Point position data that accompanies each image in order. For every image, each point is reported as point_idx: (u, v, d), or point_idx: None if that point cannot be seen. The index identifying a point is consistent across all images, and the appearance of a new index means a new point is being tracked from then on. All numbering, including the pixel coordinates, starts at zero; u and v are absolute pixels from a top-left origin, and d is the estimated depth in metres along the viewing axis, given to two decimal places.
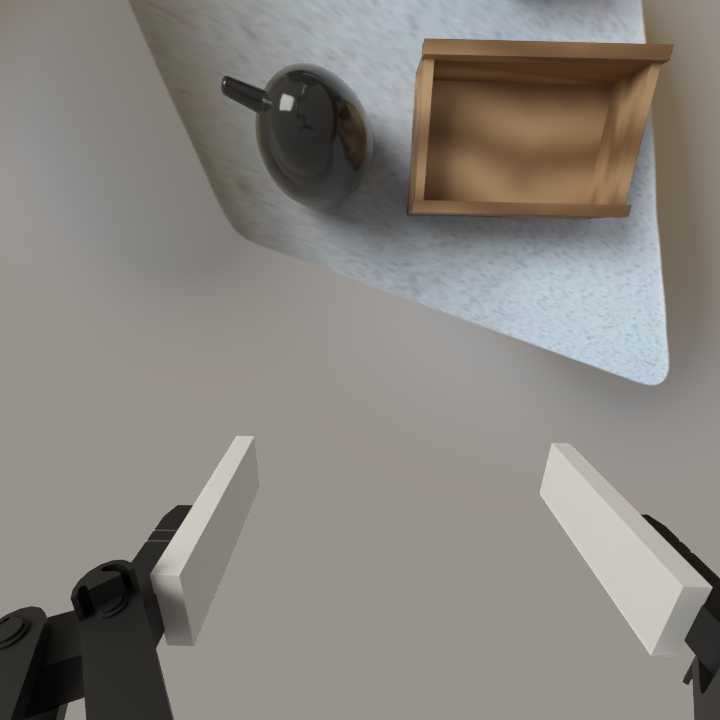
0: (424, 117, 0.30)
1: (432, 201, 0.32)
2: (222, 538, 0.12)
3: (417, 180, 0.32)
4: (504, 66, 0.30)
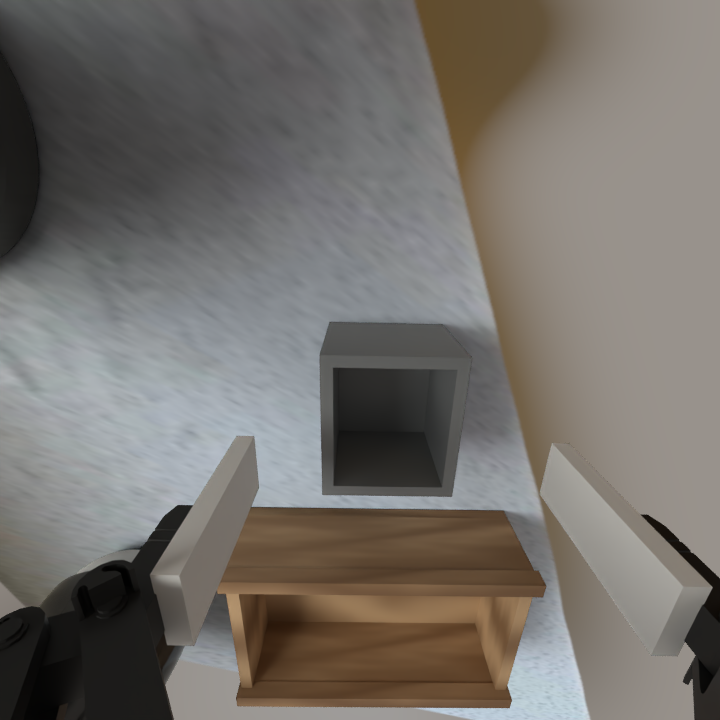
0: (237, 629, 0.23)
1: (260, 698, 0.25)
2: (222, 538, 0.12)
3: (240, 674, 0.25)
4: None
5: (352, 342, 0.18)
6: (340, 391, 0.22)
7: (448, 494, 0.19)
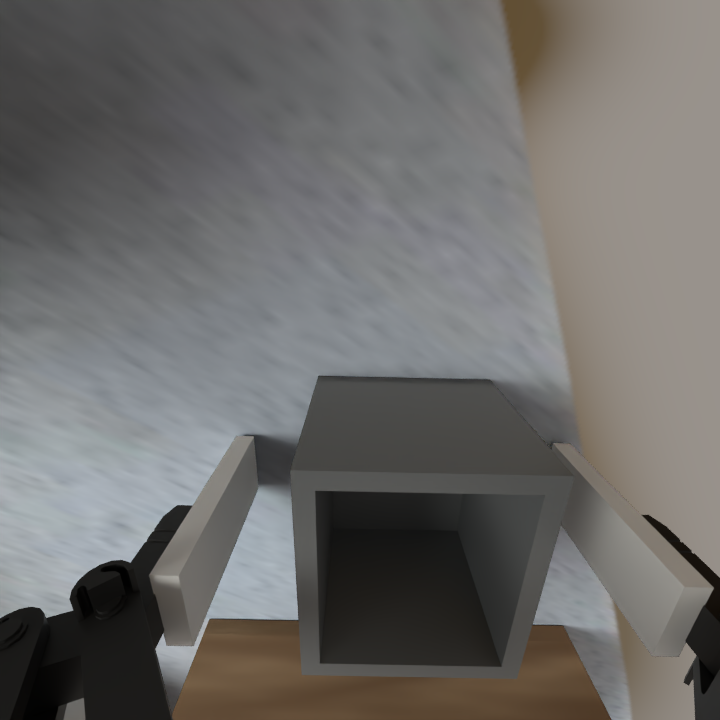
0: None
1: None
2: (222, 538, 0.12)
3: None
4: None
5: (352, 428, 0.10)
6: None
7: (511, 675, 0.11)
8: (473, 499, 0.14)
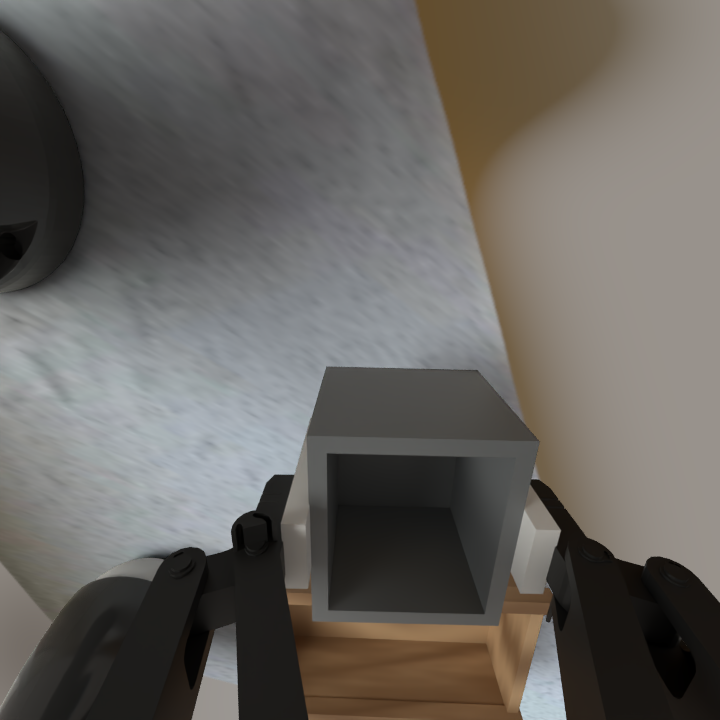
0: None
1: None
2: None
3: None
4: None
5: (356, 406, 0.12)
6: (340, 456, 0.17)
7: (493, 623, 0.13)
8: (463, 476, 0.16)
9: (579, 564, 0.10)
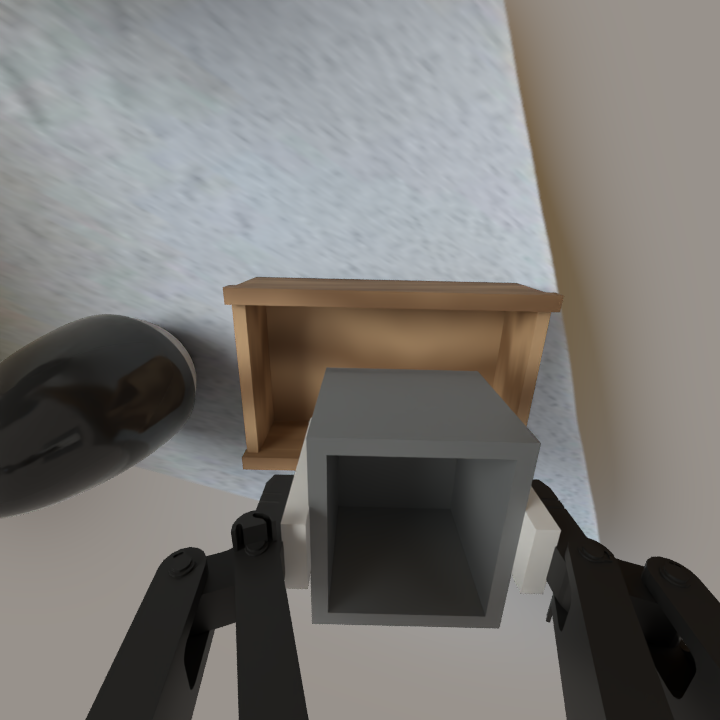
0: (243, 367, 0.23)
1: (266, 458, 0.24)
2: None
3: (246, 432, 0.24)
4: None
5: (356, 408, 0.12)
6: (340, 457, 0.17)
7: (494, 625, 0.13)
8: (463, 477, 0.16)
9: (579, 564, 0.10)
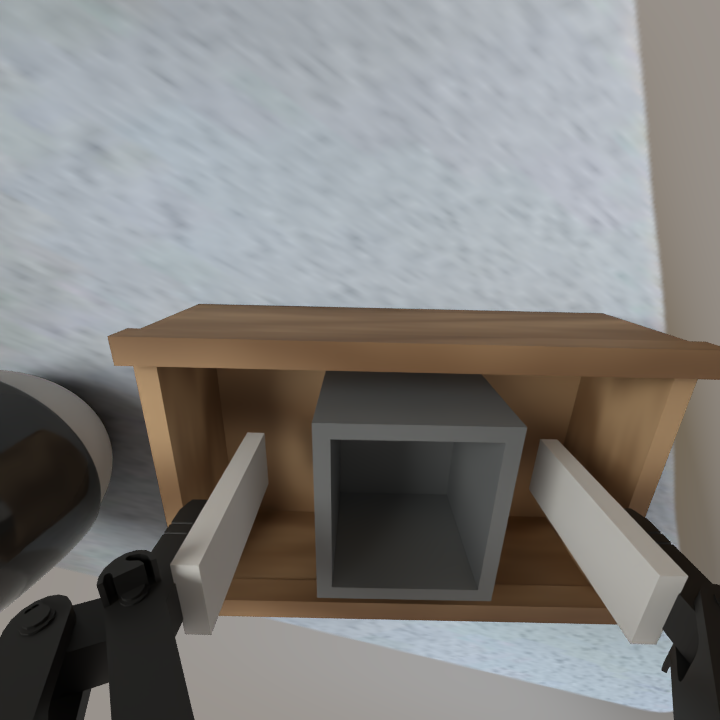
0: (163, 463, 0.13)
1: None
2: (236, 531, 0.12)
3: None
4: None
5: (357, 397, 0.13)
6: (342, 445, 0.18)
7: (486, 598, 0.14)
8: (458, 463, 0.17)
9: (713, 613, 0.08)
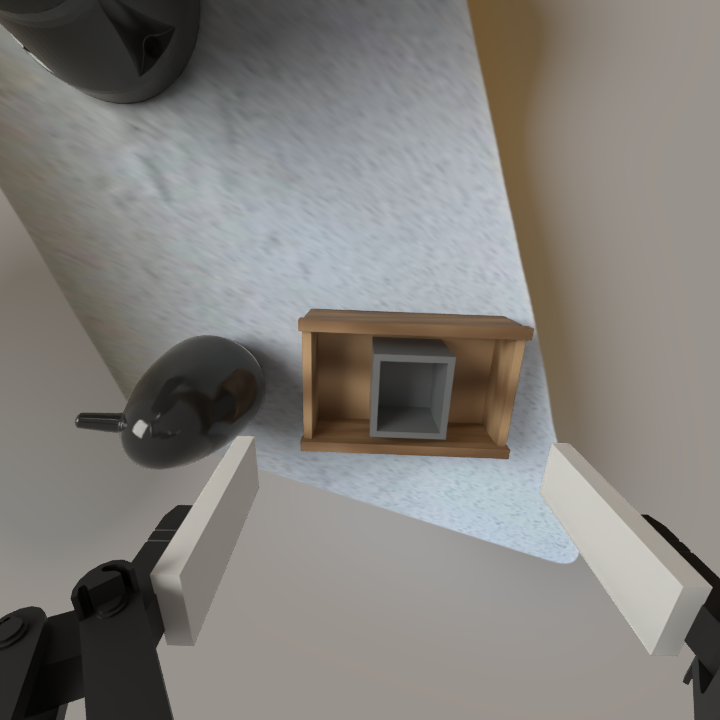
0: (306, 375, 0.32)
1: (318, 443, 0.33)
2: (222, 538, 0.12)
3: (304, 422, 0.33)
4: None
5: (389, 348, 0.31)
6: None
7: (443, 438, 0.32)
8: (434, 386, 0.35)
9: None
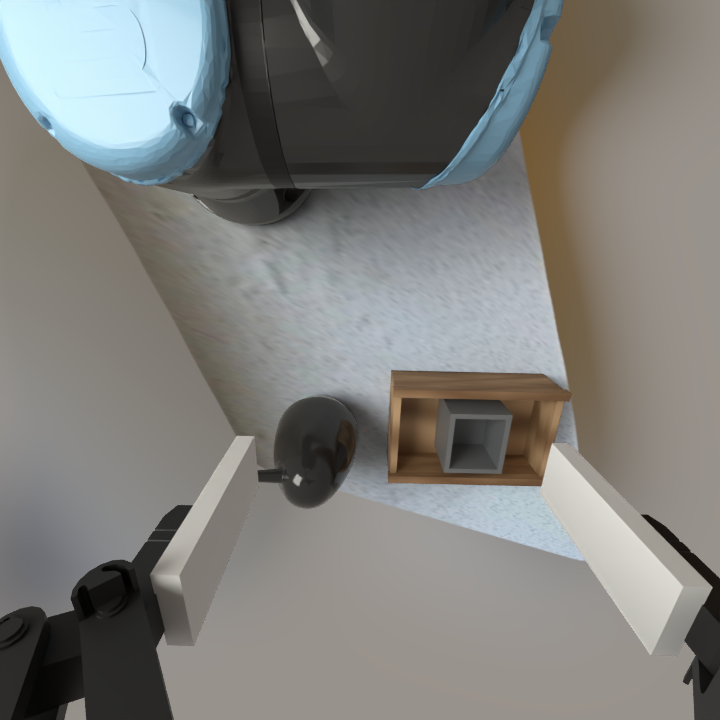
0: (395, 427, 0.41)
1: (402, 477, 0.43)
2: (222, 538, 0.12)
3: (391, 461, 0.43)
4: None
5: (459, 406, 0.41)
6: None
7: (500, 472, 0.42)
8: (488, 430, 0.45)
9: None
